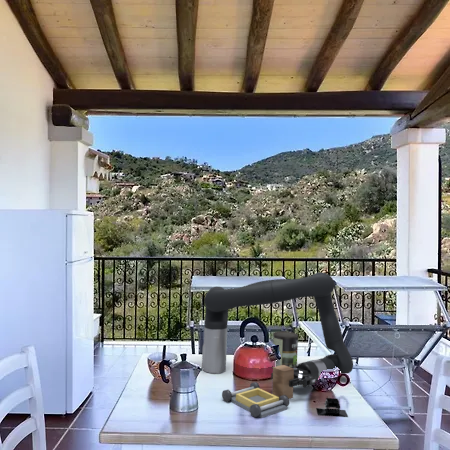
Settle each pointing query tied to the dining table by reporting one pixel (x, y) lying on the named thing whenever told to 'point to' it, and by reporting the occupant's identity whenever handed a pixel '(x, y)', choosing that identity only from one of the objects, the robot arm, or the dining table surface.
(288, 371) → the brown wooden block
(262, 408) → the chassis
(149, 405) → the dining table surface
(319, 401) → the dining table surface
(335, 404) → the black angular machine part
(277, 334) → the coffee can
